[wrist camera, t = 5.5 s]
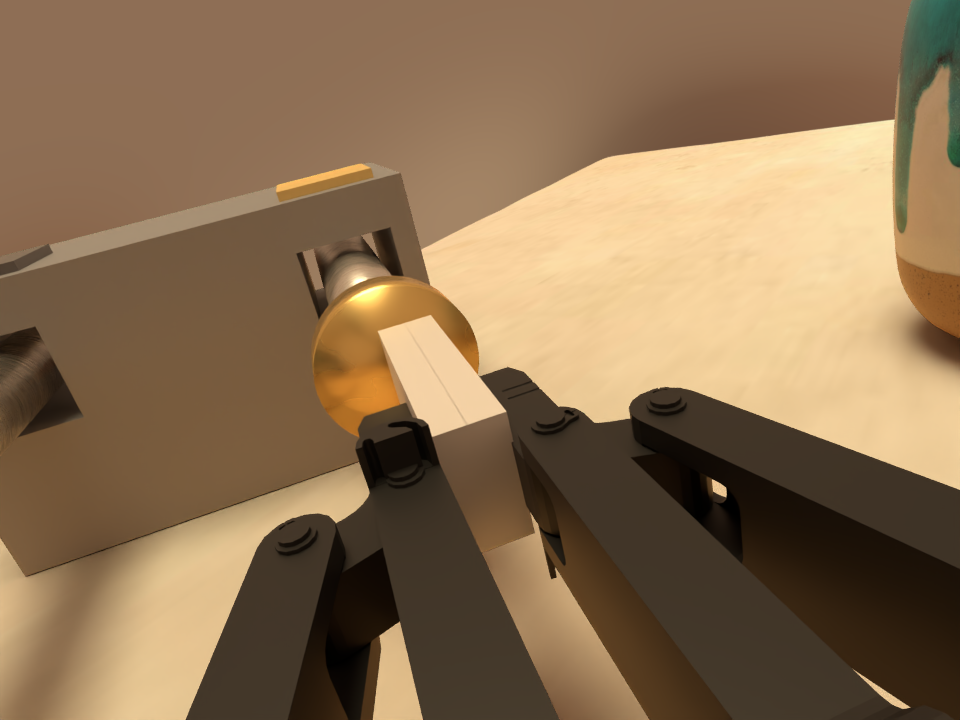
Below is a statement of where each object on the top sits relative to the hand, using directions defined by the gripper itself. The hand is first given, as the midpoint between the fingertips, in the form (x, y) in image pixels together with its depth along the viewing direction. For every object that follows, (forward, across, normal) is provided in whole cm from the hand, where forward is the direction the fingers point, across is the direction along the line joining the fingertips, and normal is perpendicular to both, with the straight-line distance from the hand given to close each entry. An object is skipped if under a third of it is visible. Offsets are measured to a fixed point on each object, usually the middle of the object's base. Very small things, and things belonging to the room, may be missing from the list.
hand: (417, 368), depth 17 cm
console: (+16, -8, -8) cm, 19 cm away
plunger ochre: (+11, -1, -2) cm, 11 cm away
